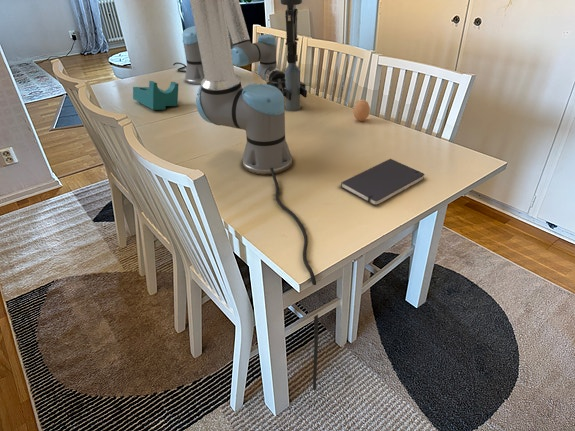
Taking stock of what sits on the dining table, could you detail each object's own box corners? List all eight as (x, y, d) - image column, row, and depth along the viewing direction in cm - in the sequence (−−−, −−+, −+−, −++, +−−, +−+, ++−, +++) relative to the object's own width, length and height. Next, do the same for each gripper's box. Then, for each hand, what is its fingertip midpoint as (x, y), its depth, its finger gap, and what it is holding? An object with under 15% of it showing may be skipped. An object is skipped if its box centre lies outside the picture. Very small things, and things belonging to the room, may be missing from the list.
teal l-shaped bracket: (177, 109, 169) (178, 83, 164) (152, 109, 162) (153, 82, 157) (156, 99, 180) (157, 74, 175) (133, 98, 172) (133, 73, 168)
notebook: (389, 163, 124) (340, 187, 113) (390, 158, 123) (341, 182, 112) (424, 178, 116) (375, 206, 105) (425, 174, 115) (376, 201, 104)
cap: (286, 62, 151) (286, 57, 150) (287, 59, 155) (287, 54, 154) (297, 62, 151) (297, 57, 150) (298, 59, 154) (298, 54, 153)
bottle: (288, 104, 167) (287, 55, 155) (302, 106, 165) (302, 56, 154) (283, 109, 162) (282, 59, 151) (297, 111, 161) (297, 60, 149)
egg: (358, 124, 148) (359, 103, 143) (349, 119, 153) (351, 98, 148) (372, 121, 150) (374, 100, 145) (363, 116, 154) (364, 95, 150)
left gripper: (296, 84, 178) (319, 101, 161) (256, 90, 173) (275, 108, 155) (296, 67, 174) (320, 82, 156) (254, 73, 168) (274, 89, 151)
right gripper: (299, -6, 132) (299, 67, 146) (304, -13, 146) (304, 55, 159) (276, -6, 133) (279, 67, 147) (284, -13, 147) (285, 55, 160)
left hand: (298, 95), depth 156 cm, fingers closed on bottle, 6 cm apart
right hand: (292, 61), depth 153 cm, fingers closed on cap, 4 cm apart
